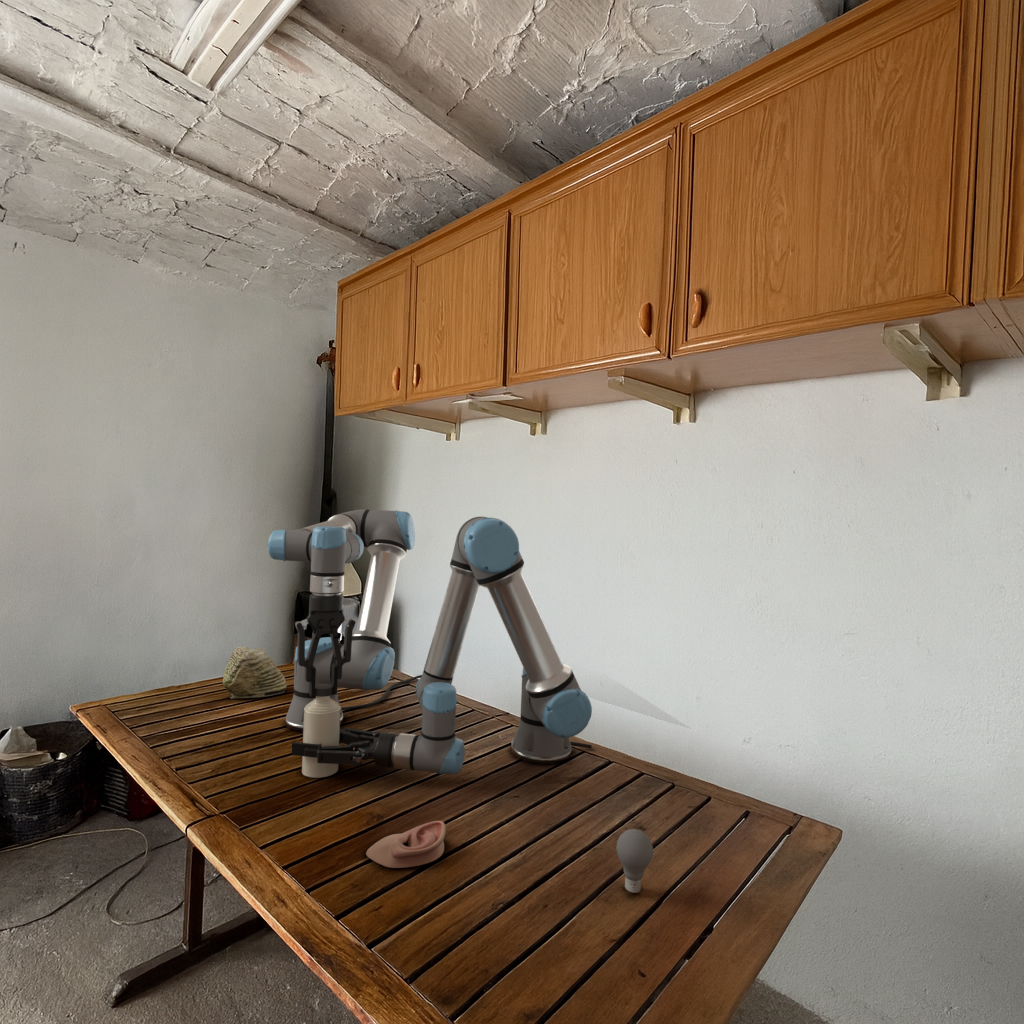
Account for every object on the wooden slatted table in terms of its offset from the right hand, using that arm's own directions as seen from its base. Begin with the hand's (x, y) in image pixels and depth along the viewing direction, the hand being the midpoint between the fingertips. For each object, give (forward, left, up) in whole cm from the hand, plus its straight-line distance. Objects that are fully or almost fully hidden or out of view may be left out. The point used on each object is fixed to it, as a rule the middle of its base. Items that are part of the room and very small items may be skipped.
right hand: (301, 741), depth 147 cm
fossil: (+15, -58, -6) cm, 60 cm away
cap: (-4, +2, +13) cm, 14 cm away
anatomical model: (-19, +40, -6) cm, 45 cm away
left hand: (-4, +2, +12) cm, 12 cm away
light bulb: (-54, +60, -6) cm, 81 cm away
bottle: (-4, +2, -6) cm, 8 cm away
